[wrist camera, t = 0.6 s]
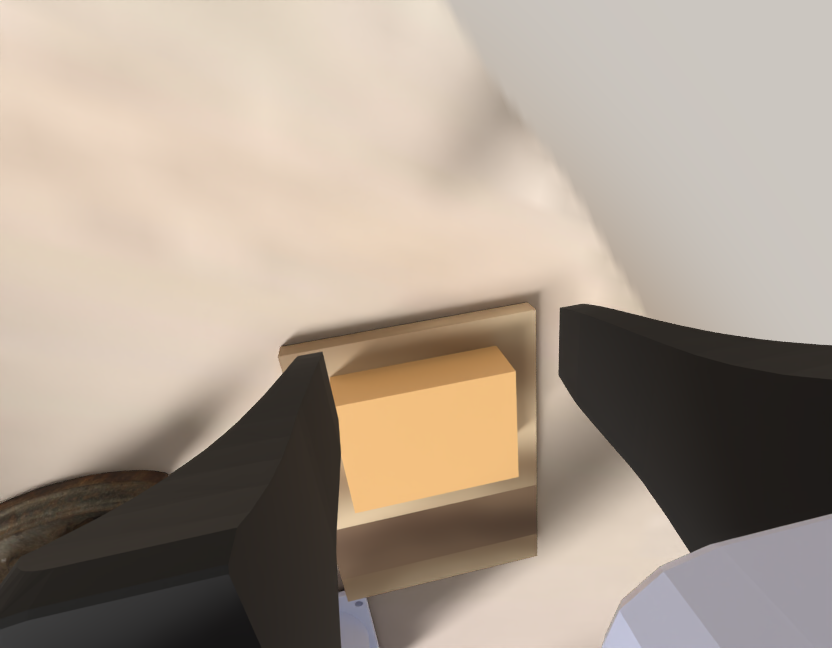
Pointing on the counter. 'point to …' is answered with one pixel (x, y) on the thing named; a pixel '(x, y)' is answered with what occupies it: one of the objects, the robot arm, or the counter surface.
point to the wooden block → (427, 427)
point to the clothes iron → (64, 510)
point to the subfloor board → (450, 512)
